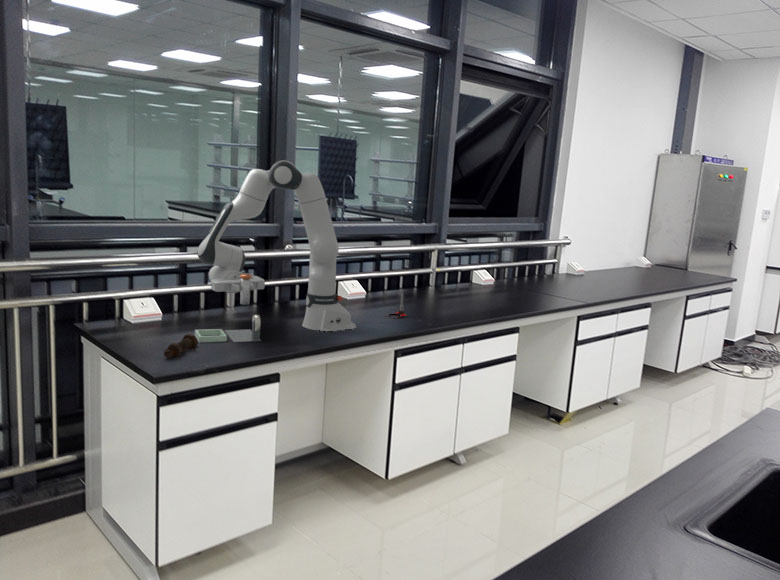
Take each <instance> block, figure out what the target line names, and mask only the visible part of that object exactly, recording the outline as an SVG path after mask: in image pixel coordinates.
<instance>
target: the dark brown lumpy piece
mask: <svg viewBox="0 0 780 580" xmlns="http://www.w3.org/2000/svg"><path fill="white" fill-rule="evenodd" d="M198 344H199V341H198V340H197V338H196V337H195V334H189V333H186V334H184V335H183V337H182V339H181V340H180V341H179V342H178V343H177V342H171V343H169V345H168V347H167V348H165V350H164V351H163V355H164V357H165V358H166V359H172V358H173V357H175V358H177V357H180V356H181V354H182V353H183V352H185V351H186V350H192V349H193V350H194V349H196V347H197V346H198Z"/></svg>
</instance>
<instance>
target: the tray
mask: <svg viewBox="0 0 780 580" xmlns="http://www.w3.org/2000/svg"><path fill="white" fill-rule="evenodd" d="M194 335H195V337H196V338H197V340H198V344H199V343H217V342H218V343H219V342H227V341H228V340H227V339H228V338H227V337H228V334H227V333H226V332H225V331H224V330H223V329H222V328H216V329H215V328H211V329H194Z"/></svg>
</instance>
